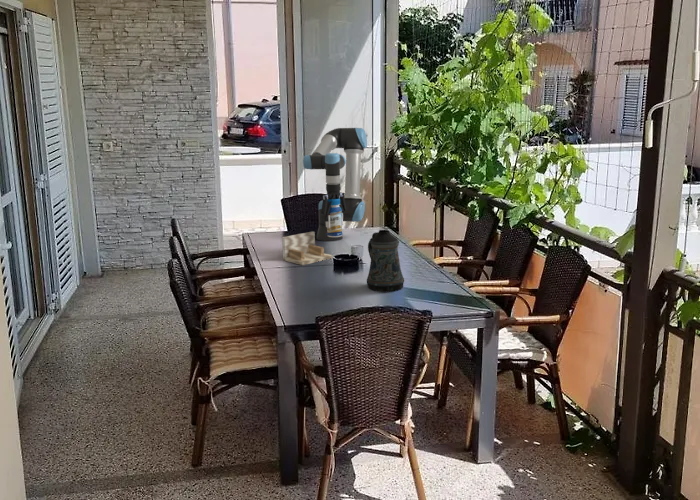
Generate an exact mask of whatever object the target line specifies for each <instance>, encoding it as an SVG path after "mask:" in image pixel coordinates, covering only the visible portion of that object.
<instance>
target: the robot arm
mask: <svg viewBox="0 0 700 500" xmlns="http://www.w3.org/2000/svg"><path fill="white" fill-rule="evenodd" d="M367 147H368V137H367V133H366V130H365V129H364V128H362V127H338V128H334V129H332V130H329V131H327V132H326V133H325V134H324V135H323V136H322V137H321V139H320V143H319V144H318V145H317V147H316V148H315V150H313V152H312V153H311V154H307V155H306V154H305V155H304V156H303V160H302V164H303V165H302V166H303V168H304V169H306V170H325V183H326V184H325V191H326V194H325V195H322V196H321V198H322V200H320V201H319V203H318V209H317V210H318V229H317V233H316V240H318V241H323V242H334V241H340V240H342V239H343V235H342V236H340V237H328V236H327V228H330V215H329V212H330V209H331V203H332V201H331V202H328V200H327V199H330V200H334V199H339V198H340V205H339V206H340V208H341V210H342V212H341V214H342V226H343V225H344V222H352V223H353V222H361V221H362V220H363V218H364V215H365V210H366V204H365V202H364V201H363V198H362V197H361V195H360V191H361V162H362V161H361V160H362V154H363V153H364V151H365V150H364V149H367ZM335 149H343V152H344V153H345V156H344V155H342V154H340V153H337V152H331V151H334V150H335ZM344 167H345V175H344V176H345V181H344V192H341V189H342V188H341V187H342V186H341V170H342V169H343V168H344Z"/></svg>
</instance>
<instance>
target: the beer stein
mask: <svg viewBox="0 0 700 500" xmlns="http://www.w3.org/2000/svg"><path fill="white" fill-rule="evenodd" d="M398 246H400V241H399V240H398V238H397V237H396V236H394V235H393V234H391V233H390V231H389V230H387V229H380V230H378V232H373V233H372V235H371V237H370V238H369V242H368V244H367V251H368V255H369V258H370V264H369V270H368V274H367V278H366V285H367V288H368V290H370V291H374V292H378V293H391V292H397V291H402V289H403V288H404V283H405V278H404V275H403V272H402V269H401V263H400V257H399V248H398Z"/></svg>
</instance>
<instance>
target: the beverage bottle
mask: <svg viewBox="0 0 700 500" xmlns="http://www.w3.org/2000/svg"><path fill="white" fill-rule="evenodd" d="M327 200H328V202H331V201H332V203H331V209H330V212H329V215H330V228H327V236H328V237H340V236H342V237H343V225H342V214H341V212H342V210H341V208H340V206H339V205H340V197H339V199H334V200H330V199H327Z"/></svg>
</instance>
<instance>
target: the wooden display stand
mask: <svg viewBox="0 0 700 500" xmlns="http://www.w3.org/2000/svg"><path fill="white" fill-rule="evenodd" d="M315 233H316V232H315V231H309V232H303V233H297V234H292V235H288V236H287V235H286V236H282V237H281V241H282V242H281V243H282V260H283V261H286V262H289V263H292V264H297V265H300V266H305V265H309V264H313V263H317V262H318V261H319V262H321V261H322V260H323V261H326V259H327V260H331V259H333V254H329V253H325V249H324V248H325V247H323V246H318V245H316V238H315V237H316V234H315ZM330 258H331V259H330ZM323 261H322V262H323ZM319 262H318V263H319Z"/></svg>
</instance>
